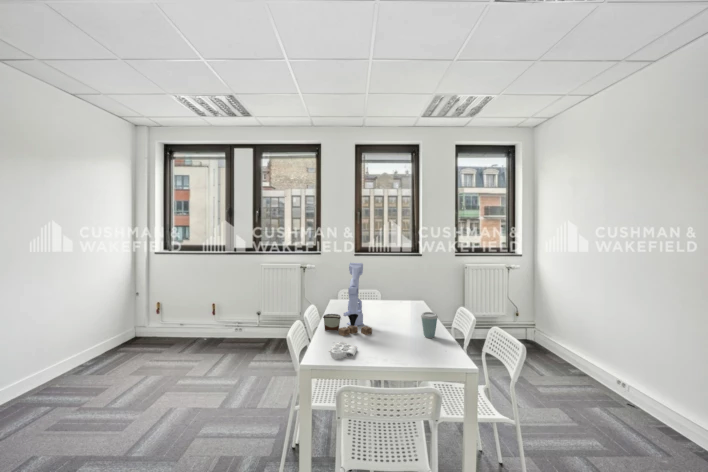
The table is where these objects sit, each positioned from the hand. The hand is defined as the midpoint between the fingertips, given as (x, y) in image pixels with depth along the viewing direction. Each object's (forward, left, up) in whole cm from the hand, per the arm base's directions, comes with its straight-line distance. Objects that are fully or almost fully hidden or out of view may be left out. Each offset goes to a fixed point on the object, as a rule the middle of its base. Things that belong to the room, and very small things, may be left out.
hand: (352, 325), depth 223 cm
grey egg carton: (+28, +24, -5) cm, 37 cm away
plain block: (0, 0, -5) cm, 5 cm away
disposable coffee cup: (-34, +36, -5) cm, 50 cm away
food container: (+7, -13, -5) cm, 15 cm away
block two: (+7, 0, -5) cm, 9 cm away
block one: (-6, +7, -5) cm, 10 cm away
